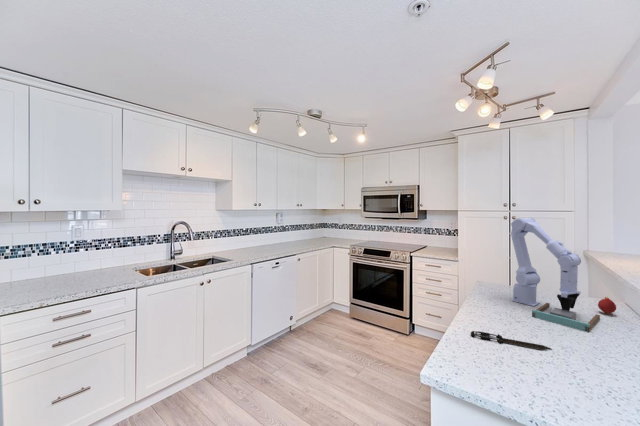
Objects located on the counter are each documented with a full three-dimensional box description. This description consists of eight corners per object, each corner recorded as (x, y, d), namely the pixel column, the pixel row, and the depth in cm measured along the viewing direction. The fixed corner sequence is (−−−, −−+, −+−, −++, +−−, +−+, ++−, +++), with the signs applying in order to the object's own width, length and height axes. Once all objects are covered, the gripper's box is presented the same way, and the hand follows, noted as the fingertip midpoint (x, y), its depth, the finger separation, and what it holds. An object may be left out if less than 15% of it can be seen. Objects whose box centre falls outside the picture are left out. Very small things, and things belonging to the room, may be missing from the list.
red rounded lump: (607, 311, 129) (608, 295, 129) (619, 316, 123) (620, 299, 123) (594, 311, 130) (594, 294, 129) (605, 316, 124) (606, 299, 124)
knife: (551, 349, 97) (551, 345, 97) (555, 358, 92) (555, 354, 92) (471, 331, 111) (471, 328, 111) (470, 338, 106) (470, 334, 106)
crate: (549, 320, 120) (549, 311, 120) (555, 316, 125) (555, 307, 125) (570, 326, 114) (570, 317, 114) (575, 321, 119) (576, 312, 119)
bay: (531, 316, 124) (532, 310, 124) (546, 306, 136) (546, 300, 136) (588, 332, 109) (589, 324, 109) (599, 319, 120) (600, 312, 120)
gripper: (576, 285, 117) (575, 316, 117) (584, 279, 125) (583, 308, 125) (555, 281, 122) (554, 311, 123) (564, 276, 131) (563, 304, 131)
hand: (568, 309), depth 124 cm, fingers open, 7 cm apart
